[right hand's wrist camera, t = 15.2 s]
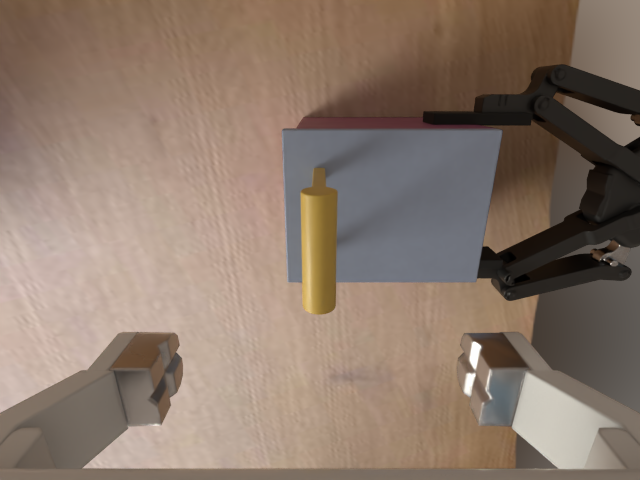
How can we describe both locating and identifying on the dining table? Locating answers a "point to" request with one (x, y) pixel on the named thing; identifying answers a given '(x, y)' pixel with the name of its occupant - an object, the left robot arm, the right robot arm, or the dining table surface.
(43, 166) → the dining table surface
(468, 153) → the lid
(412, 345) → the dining table surface
